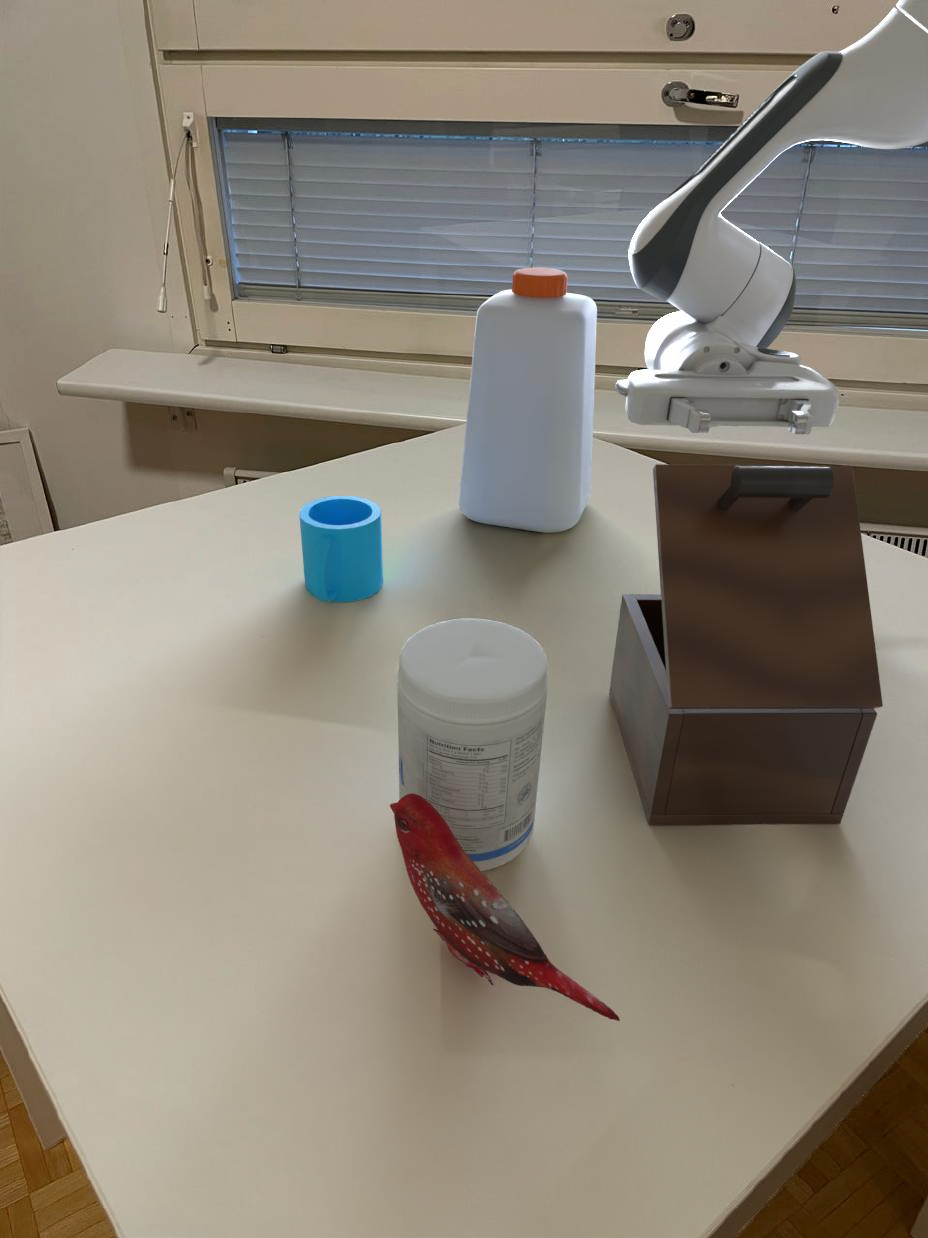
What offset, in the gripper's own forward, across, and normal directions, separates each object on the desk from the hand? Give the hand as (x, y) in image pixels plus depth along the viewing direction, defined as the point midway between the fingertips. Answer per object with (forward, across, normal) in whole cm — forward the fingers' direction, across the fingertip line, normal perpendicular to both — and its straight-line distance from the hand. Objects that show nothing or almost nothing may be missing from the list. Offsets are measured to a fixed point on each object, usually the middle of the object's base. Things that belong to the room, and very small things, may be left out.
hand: (753, 425), depth 79 cm
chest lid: (+24, -7, +3) cm, 26 cm away
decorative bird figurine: (+43, -26, +19) cm, 54 cm away
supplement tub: (+31, -27, +19) cm, 45 cm away
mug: (-3, -39, +20) cm, 43 cm away
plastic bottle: (-25, -17, +20) cm, 36 cm away
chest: (+23, -7, +19) cm, 31 cm away
